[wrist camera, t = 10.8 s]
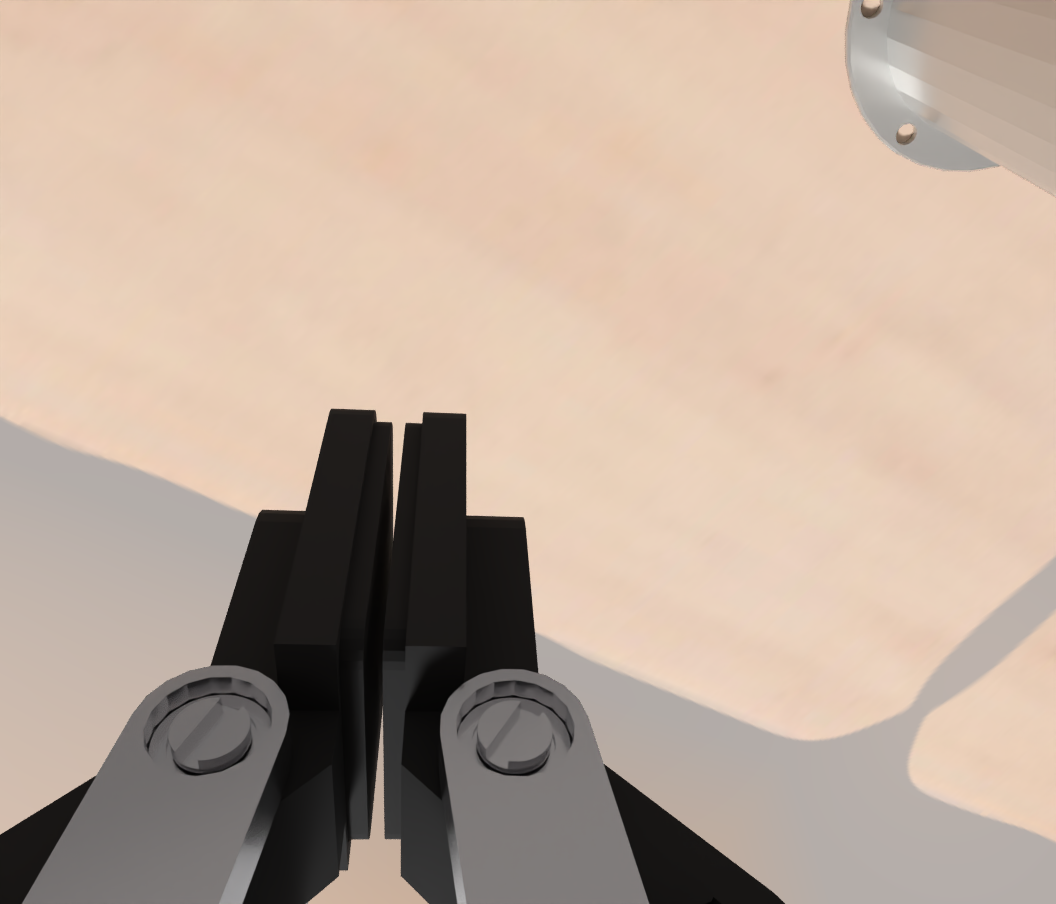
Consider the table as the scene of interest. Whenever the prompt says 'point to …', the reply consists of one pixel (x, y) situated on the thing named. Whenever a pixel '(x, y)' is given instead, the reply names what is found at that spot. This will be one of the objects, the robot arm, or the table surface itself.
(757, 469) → the table surface
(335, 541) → the robot arm
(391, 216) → the table surface
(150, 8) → the table surface
